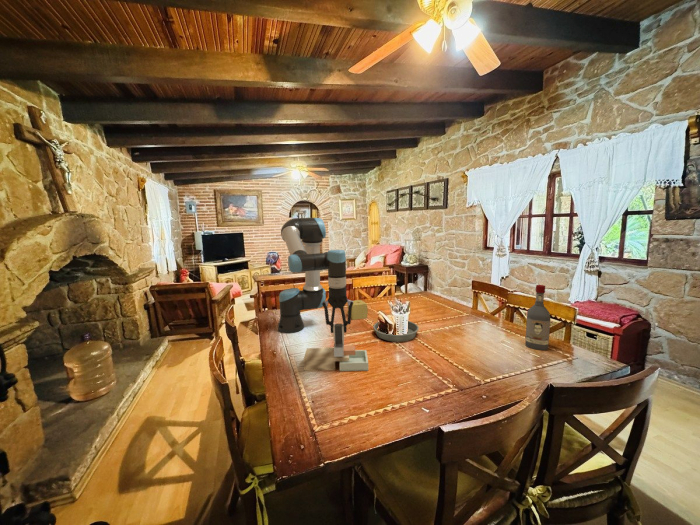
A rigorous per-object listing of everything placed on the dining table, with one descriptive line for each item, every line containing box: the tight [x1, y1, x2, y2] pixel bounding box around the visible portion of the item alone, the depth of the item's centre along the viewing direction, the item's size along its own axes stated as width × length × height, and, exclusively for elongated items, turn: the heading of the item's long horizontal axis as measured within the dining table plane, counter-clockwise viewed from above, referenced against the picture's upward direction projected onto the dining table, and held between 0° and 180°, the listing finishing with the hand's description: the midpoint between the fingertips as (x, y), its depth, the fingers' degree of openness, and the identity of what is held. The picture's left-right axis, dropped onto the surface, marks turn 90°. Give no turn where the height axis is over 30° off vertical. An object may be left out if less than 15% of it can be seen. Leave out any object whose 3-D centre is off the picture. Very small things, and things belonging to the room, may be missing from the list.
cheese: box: [346, 299, 369, 321], centre depth 189 cm, size 10×11×10 cm
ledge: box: [303, 347, 349, 372], centre depth 126 cm, size 19×10×6 cm, turn 91°
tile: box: [344, 345, 356, 355], centre depth 126 cm, size 5×5×2 cm
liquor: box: [524, 284, 551, 351], centre depth 138 cm, size 9×9×30 cm
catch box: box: [339, 349, 369, 372], centre depth 127 cm, size 12×12×4 cm
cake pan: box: [372, 320, 420, 343], centre depth 160 cm, size 25×25×4 cm
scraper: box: [333, 323, 345, 357], centre depth 125 cm, size 4×10×12 cm, turn 0°
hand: (338, 339), depth 125 cm, fingers closed on scraper, 3 cm apart
